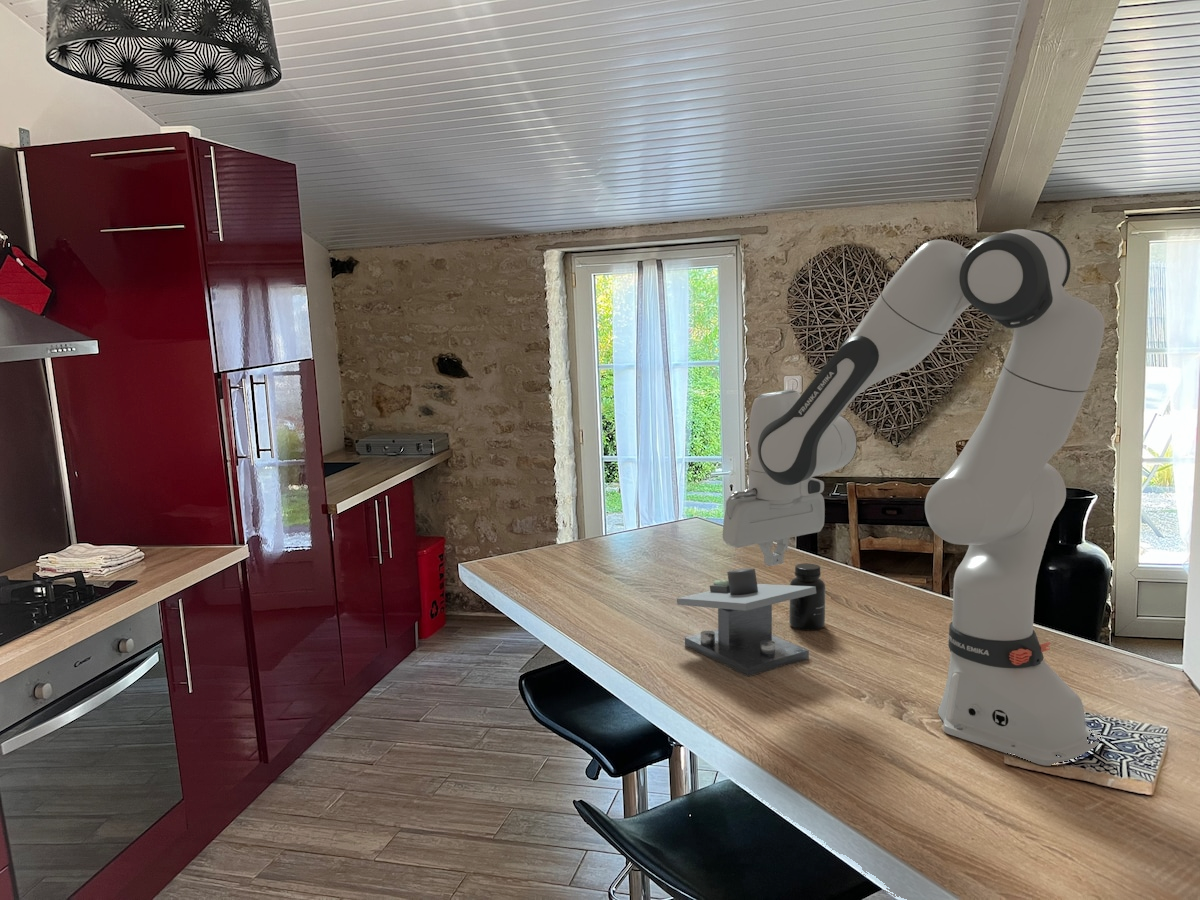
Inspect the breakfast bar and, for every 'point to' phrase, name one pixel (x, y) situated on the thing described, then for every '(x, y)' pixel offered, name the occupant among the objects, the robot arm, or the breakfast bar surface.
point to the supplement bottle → (808, 599)
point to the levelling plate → (744, 593)
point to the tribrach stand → (746, 642)
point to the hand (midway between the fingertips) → (773, 564)
